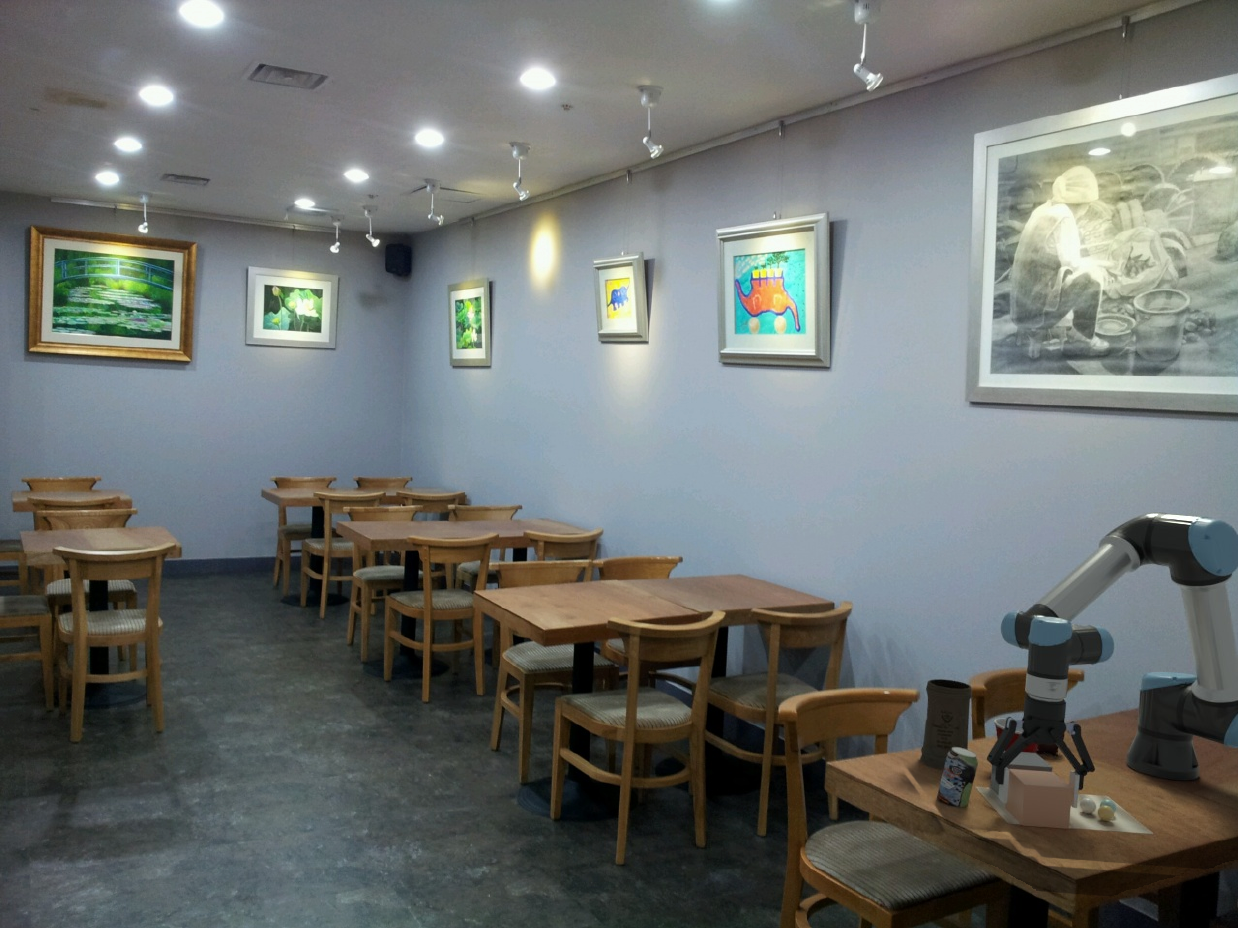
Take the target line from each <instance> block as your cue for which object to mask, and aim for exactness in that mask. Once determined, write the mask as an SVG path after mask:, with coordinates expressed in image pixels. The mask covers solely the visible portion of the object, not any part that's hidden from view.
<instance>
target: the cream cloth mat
mask: <svg viewBox="0 0 1238 928" xmlns="http://www.w3.org/2000/svg"><path fill="white" fill-rule="evenodd" d="M974 788H975V789H976V790H977V791H978V792H979V794H980V795H981V796H982V797H983V798H984V799H985V800H986V802H988V804H990V805H991V807H992V808H993V809H994V810H995V812H996V813H998V815H999V816H1001V818H1002V820H1003V821H1004V822H1006V824H1008V825H1020V826H1022V825H1021V824H1020V823H1019V822H1018V821H1017V820H1016V819H1015V818H1014V816H1013V815H1012V814H1011V813H1010V812H1009V811H1008V810H1007V809H1006V803H1003V802H1002V801H1001V800H1000V799H999V798H998V797H999V795H998V794H997V793H996V792H995V791H994V790H993V789H992V788H991V787H986V786H985V787H984V786H974ZM1084 798H1090V799H1092V800H1093V801H1094V802H1095V804H1096V810H1095V811H1094V812H1093V813H1091V814H1087V813H1085V812H1083V811H1082V810H1081V808H1080V802H1081V800H1082V799H1084ZM1106 799H1108V800H1111V801H1113V802H1114V803H1115V805H1116V811H1115V813H1114V818H1113V819H1112V820H1111V821H1103V820H1102V819H1100V818H1099V816H1098V809H1099V807H1100V803H1101V802H1102V801H1103V800H1106ZM1069 829H1078V830H1088V831H1089V830H1090V831H1091V830H1093V831H1103V832H1104V831H1107V832H1118V833H1133V834H1146V835H1155V833H1154V832H1153V831H1151V830H1150V828H1148V827H1146V826H1145V825H1144V824H1142V823H1141V822H1140V821H1139V820H1138V819H1136V818H1135V817H1134V816H1133V815H1132V814H1130V813H1129V812H1128V811H1126V810H1125V809H1124V808H1123V807H1122V806H1120V805H1119V804H1118V803H1117V802H1116V801H1114V800H1113V799H1112V798H1110V797H1109V796H1108V795H1100V794H1099V795H1097V794H1096V795H1095V794H1085V793H1081V794H1080V793H1078V803H1077V808H1073V807H1072V806H1071V809H1070V822H1069Z"/></svg>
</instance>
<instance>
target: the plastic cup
mask: <svg viewBox="0 0 1238 928" xmlns="http://www.w3.org/2000/svg"><path fill="white" fill-rule="evenodd" d="M1006 719H1007V718H999V717H998V718H996V719H994V722H993V723H994V726H995V732H996V738H997V740H998V738H999V736H1000V735H1001V733H1002V731H1003V730H1004V728H1005V724H1006ZM1023 731H1024V730H1023V729H1022V727H1019V729H1018V730H1017V731H1015V734H1014V736H1013V737H1012V739H1011V741H1010V742H1009V744H1008V746H1007V747H1006V749H1005V751H1006V750H1007V749H1008V748H1009V747H1010V746H1011V745H1012V744H1013V743H1014V742H1015V741H1016V740H1017V739H1018V737H1019V735H1020V734H1021V733H1022V732H1023ZM997 740H996V741H997ZM1037 747H1038V744H1035V743H1032V744H1031V745H1030V746H1027V747H1026V748H1025V749H1024V750H1023V751H1022V752H1028V753H1036V754H1037V751H1038V749H1037Z"/></svg>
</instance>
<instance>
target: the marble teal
mask: <svg viewBox="0 0 1238 928" xmlns="http://www.w3.org/2000/svg"><path fill="white" fill-rule="evenodd" d="M1113 801H1114V800H1113ZM1113 801H1111V800H1108V799H1106V800H1103V801H1102V802H1101V803H1100V807H1101V806H1104V805H1106V806H1109V807H1111V808H1112V809H1113V811H1114V813H1115V811H1116V805H1115V803H1116V802H1115V801H1114V802H1115V803H1114V802H1113Z"/></svg>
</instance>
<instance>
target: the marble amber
mask: <svg viewBox="0 0 1238 928" xmlns="http://www.w3.org/2000/svg"><path fill="white" fill-rule="evenodd" d="M1098 816H1099V818H1100V819H1102V820H1103V821H1111V820H1112V819H1113V818H1114V811H1113V809H1112V808H1111V807H1109V806H1106V805H1104V806H1101V807H1099V809H1098Z"/></svg>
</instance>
